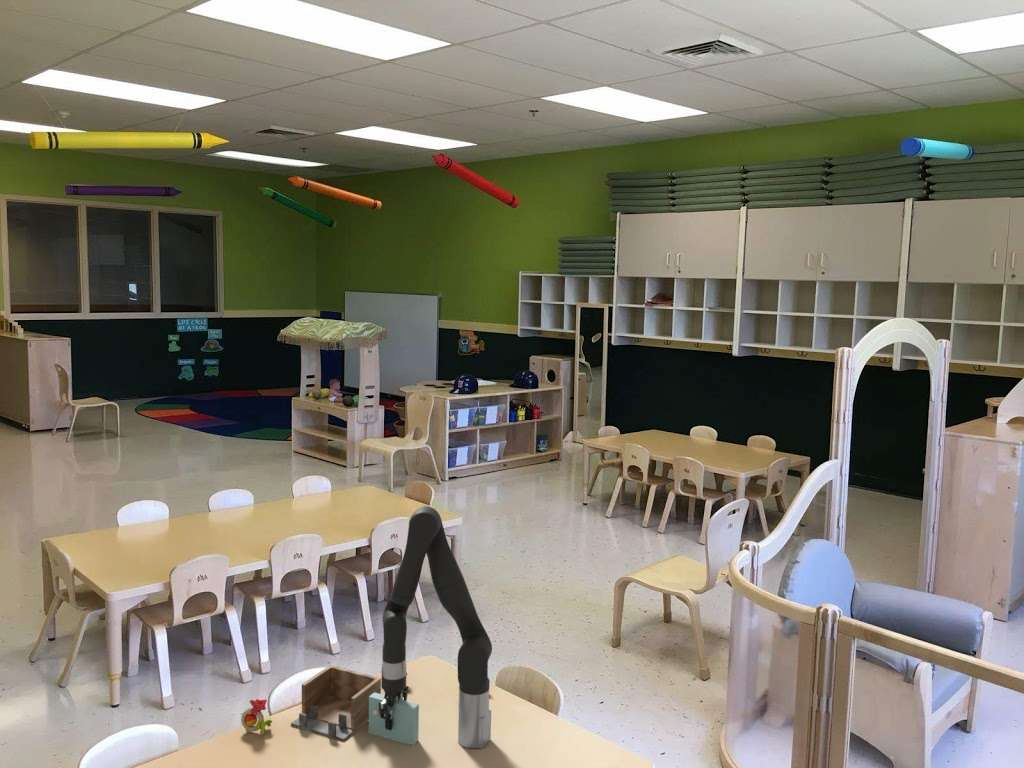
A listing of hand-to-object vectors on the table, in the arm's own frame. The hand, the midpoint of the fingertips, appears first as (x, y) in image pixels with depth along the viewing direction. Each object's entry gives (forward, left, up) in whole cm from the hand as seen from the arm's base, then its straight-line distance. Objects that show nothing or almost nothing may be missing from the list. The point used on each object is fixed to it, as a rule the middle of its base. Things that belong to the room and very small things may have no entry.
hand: (393, 724), depth 264 cm
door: (0, 0, -4) cm, 4 cm away
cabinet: (+22, -1, -4) cm, 22 cm away
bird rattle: (+39, +17, -4) cm, 43 cm away
